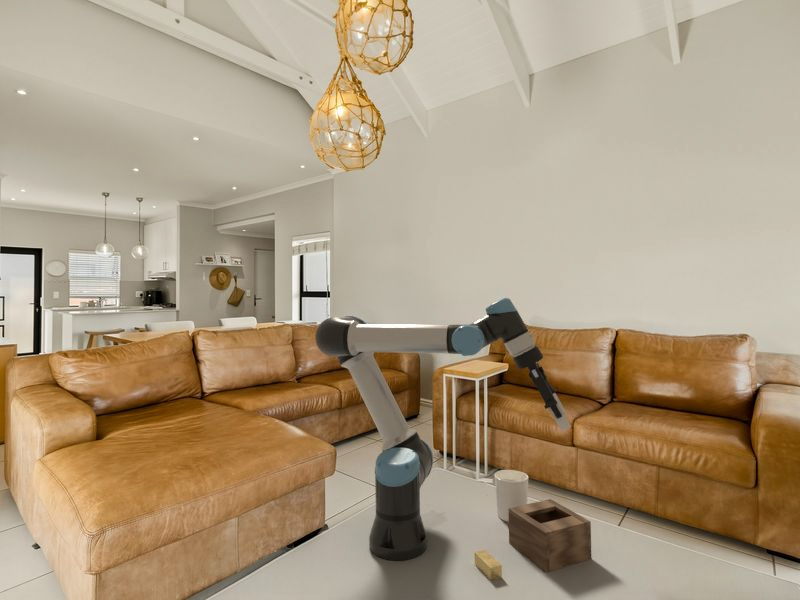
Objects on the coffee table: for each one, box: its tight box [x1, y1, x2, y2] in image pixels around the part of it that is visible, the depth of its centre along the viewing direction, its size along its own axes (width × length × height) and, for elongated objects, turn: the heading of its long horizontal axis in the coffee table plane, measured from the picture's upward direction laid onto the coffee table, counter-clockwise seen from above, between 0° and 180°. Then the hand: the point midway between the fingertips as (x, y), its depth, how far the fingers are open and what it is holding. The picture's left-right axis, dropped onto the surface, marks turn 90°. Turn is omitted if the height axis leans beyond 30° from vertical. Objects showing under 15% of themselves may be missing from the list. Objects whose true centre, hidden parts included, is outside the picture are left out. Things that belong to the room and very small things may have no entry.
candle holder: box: [493, 469, 529, 523], centre depth 129 cm, size 10×10×12 cm
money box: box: [508, 498, 593, 573], centre depth 110 cm, size 14×14×9 cm
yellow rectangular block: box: [473, 549, 503, 581], centre depth 102 cm, size 3×7×3 cm, turn 21°
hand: (564, 422), depth 115 cm, fingers open, 13 cm apart
